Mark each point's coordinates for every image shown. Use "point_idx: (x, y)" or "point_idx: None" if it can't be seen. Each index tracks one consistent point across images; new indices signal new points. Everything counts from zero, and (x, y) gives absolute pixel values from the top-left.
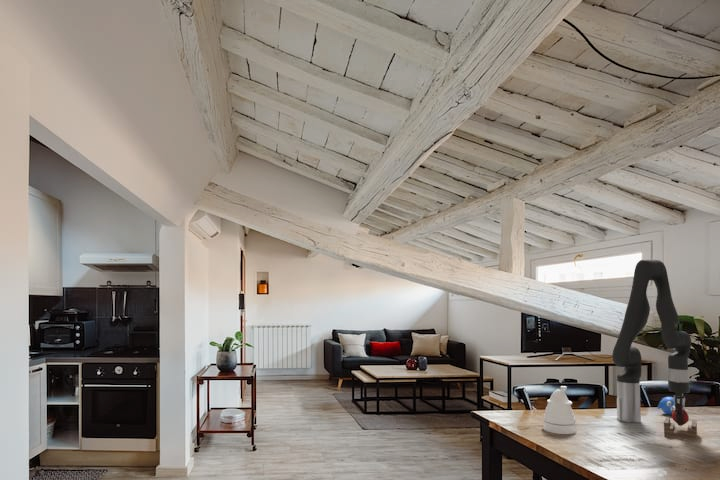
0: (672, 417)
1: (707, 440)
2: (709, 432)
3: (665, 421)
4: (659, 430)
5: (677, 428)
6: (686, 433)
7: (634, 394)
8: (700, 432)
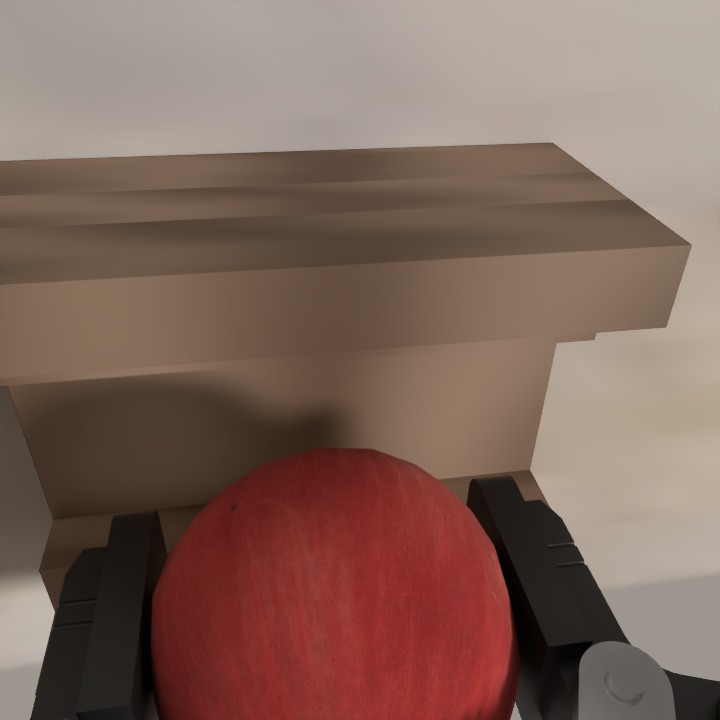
0: (270, 488)
1: None
2: (688, 553)
3: (76, 308)
4: (503, 19)
5: (447, 357)
6: (144, 499)
7: None
8: (649, 499)
